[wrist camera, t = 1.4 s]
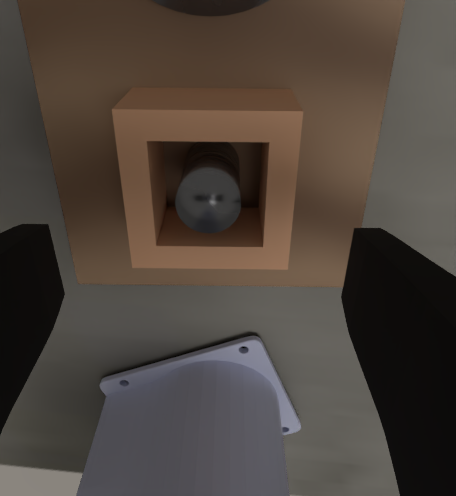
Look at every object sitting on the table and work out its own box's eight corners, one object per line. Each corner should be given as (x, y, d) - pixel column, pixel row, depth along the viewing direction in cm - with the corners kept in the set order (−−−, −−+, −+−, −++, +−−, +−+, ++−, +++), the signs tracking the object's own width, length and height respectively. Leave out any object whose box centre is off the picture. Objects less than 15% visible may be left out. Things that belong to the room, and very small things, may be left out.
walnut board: (342, 267, 20) (349, 287, 19) (87, 264, 20) (78, 283, 19) (470, -456, 10) (505, -520, 9) (-53, -459, 10) (-95, -526, 9)
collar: (279, 228, 18) (287, 269, 15) (146, 226, 18) (132, 267, 15) (291, 88, 15) (303, 111, 12) (132, 87, 15) (111, 109, 12)
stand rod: (238, 188, 17) (240, 233, 14) (186, 188, 17) (177, 233, 14) (239, 137, 16) (242, 174, 13) (184, 137, 16) (173, 173, 13)
